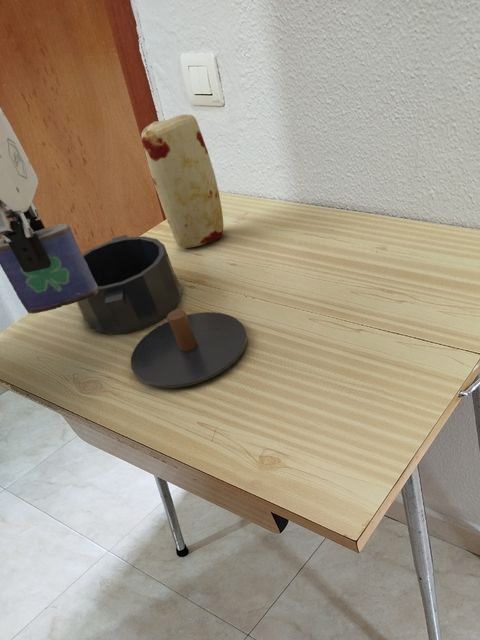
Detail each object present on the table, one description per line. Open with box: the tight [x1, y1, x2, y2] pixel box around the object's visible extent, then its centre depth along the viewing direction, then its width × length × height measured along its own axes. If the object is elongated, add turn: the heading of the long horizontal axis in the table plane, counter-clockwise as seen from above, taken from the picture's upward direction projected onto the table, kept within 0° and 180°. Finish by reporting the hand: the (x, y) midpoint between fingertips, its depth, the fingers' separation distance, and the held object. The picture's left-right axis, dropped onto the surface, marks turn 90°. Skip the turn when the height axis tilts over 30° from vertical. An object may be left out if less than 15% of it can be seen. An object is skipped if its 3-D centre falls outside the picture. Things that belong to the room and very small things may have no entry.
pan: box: [75, 234, 182, 336], centre depth 87 cm, size 15×20×8 cm
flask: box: [0, 219, 98, 315], centre depth 70 cm, size 9×3×11 cm, turn 106°
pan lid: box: [130, 308, 248, 389], centre depth 76 cm, size 16×16×6 cm
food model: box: [140, 114, 225, 249], centre depth 95 cm, size 10×7×20 cm
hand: (39, 260), depth 70 cm, fingers closed on flask, 3 cm apart
